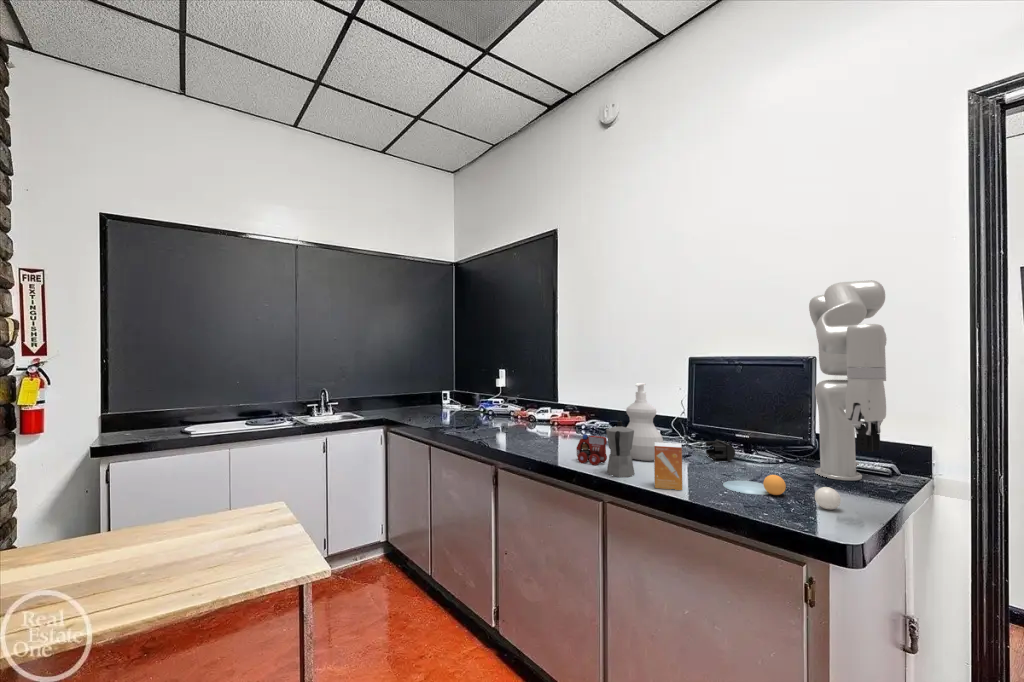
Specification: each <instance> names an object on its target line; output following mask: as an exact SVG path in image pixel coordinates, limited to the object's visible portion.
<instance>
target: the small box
mask: <svg viewBox="0 0 1024 682" xmlns="http://www.w3.org/2000/svg"><path fill="white" fill-rule="evenodd" d="M653 464H654V465H653V466H654V467H653V469H654V470H653V471H654V477H653V478H654V489H662V490H671V489H675V490H674V491H680V490H682V491H683V447H682V443H681V442H680V443H677V442H663V443H659V442H654V460H653Z"/></svg>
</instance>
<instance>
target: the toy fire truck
mask: <svg viewBox="0 0 1024 682" xmlns="http://www.w3.org/2000/svg"><path fill="white" fill-rule="evenodd" d="M607 445H608V438H607V437H605V436H597V435H588V434H585V433H584V434H583V435H582V438H580V440H579V441H578V443H577V446H576V456H577V460H578V462H579V463H580V462H581V464H586V463H587V462H588V461H589V463H590V465H592V466H597V465H599V464H600V463H601V462H603V463H605V462H607V459H608V455H607V448H606V446H607Z"/></svg>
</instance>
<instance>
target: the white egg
mask: <svg viewBox="0 0 1024 682" xmlns="http://www.w3.org/2000/svg"><path fill="white" fill-rule="evenodd" d="M814 499H815V502H816V503H817V505H818V506H819V507H821V508H822V509H824V510H830V511H831V510H836V509H837V508H838V507H840V505H841V503H842V502H841V501H842V500H841V495H840V493H839V492H838V491H837V490H836V489H834V488H832V487H828V486H823V487H820V488H818V489H816V491H815V492H814Z"/></svg>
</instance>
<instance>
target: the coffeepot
mask: <svg viewBox="0 0 1024 682" xmlns="http://www.w3.org/2000/svg"><path fill="white" fill-rule="evenodd" d="M626 427H627V426H623V421H622V420H618V421H617V426H613V427H609V428H606V429H605V433H606V439H607V445H608V449H609V451H610V452H609V453H610V454H609V455H608V462H607V469H606V473H607V475H608V476H610V475H613V476H612V477H614V476H618V477H617V478H629V477H630V476H631V477H633V476H634V475H635V468H634V463H633V459H632V457H631V455H630V450H631V449H632V443H633V435H634V430H632V429H630V428H626ZM632 475H633V476H632Z"/></svg>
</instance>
